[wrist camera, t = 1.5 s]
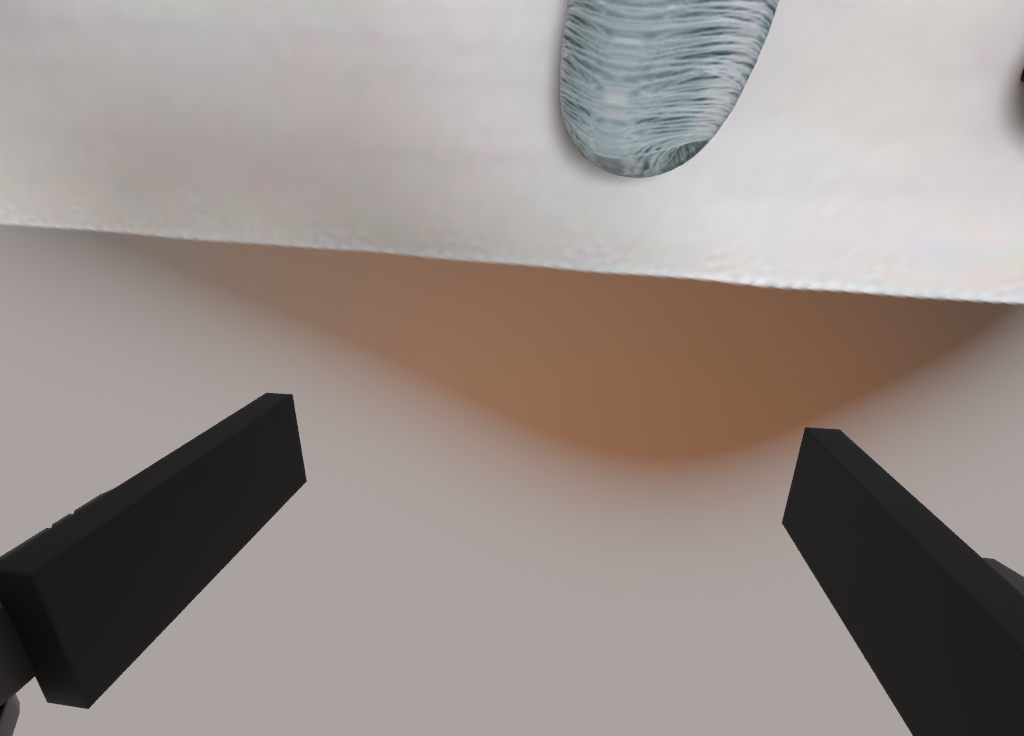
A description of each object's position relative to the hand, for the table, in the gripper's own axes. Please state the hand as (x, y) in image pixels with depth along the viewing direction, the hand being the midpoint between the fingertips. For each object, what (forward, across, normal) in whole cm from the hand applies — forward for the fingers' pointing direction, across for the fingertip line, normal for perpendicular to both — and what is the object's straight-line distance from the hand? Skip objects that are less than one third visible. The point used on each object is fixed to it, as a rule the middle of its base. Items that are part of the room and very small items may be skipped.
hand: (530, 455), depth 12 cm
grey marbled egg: (+21, +4, +14) cm, 26 cm away
